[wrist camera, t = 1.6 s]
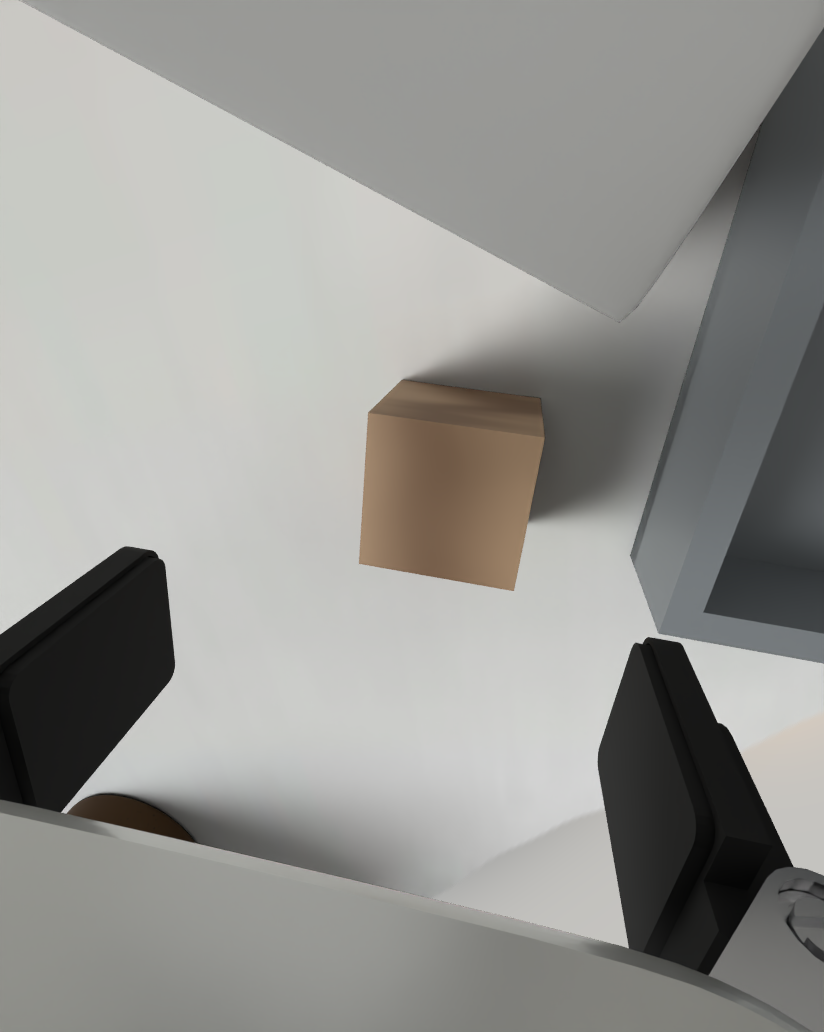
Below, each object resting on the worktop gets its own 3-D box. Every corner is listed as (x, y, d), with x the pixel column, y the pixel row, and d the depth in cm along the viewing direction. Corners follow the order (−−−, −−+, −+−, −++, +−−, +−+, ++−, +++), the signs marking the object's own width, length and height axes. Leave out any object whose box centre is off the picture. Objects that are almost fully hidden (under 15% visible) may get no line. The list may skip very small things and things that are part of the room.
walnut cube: (540, 397, 20) (545, 437, 15) (515, 523, 22) (513, 590, 17) (402, 379, 20) (368, 412, 16) (391, 503, 23) (359, 563, 18)
